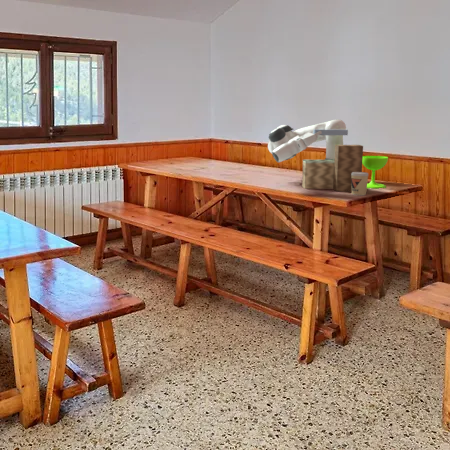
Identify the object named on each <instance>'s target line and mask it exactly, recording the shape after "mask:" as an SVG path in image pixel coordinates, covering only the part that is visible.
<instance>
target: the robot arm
mask: <svg viewBox="0 0 450 450" xmlns="http://www.w3.org/2000/svg"><path fill="white" fill-rule="evenodd" d="M314 129H322V130H347V124H346V123H345V121H343V120H341V119H332V120H329V121H325V122H320V123H316V124H313V125H309V126H303V127H301V128H298V129H296V130H294V127H293V128H292V127H291V126H290V125H289V124H288V125H287V124H281V125H278V127H276V128H275V129H273V130H272V131H271V132H269V134H268V143H267V149H268V151H269V153H270V154H272V157H273V159H274V161H276V163H281V162H284V161H288V160H290V159H292V158H294V157H296V156H297V154H299V153H300V152H303V151H305V150H306V149H307V147H309V146H310V145H312V144H314V143H317V142H320V141H325V145H326V147H325V148H326V149H325V158H324V159H323V160H335V145H344V135H320V134H322V132H321V131H318V132H317V133H315V134H313V131H314ZM293 130H294V131H293Z"/></svg>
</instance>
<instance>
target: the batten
mask: <svg viewBox="0 0 450 450" xmlns="http://www.w3.org/2000/svg"><path fill="white" fill-rule="evenodd" d="M318 131H321V132H322V134H320V135H343V136H348V135H349V130H348V129H346V130H322V129H314V131H313V134H315V133H317V132H318Z"/></svg>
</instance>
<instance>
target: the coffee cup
mask: <svg viewBox="0 0 450 450" xmlns="http://www.w3.org/2000/svg"><path fill="white" fill-rule="evenodd" d="M368 180H369V173H368V172H364V171H362V172H352V174H351V182H352V191H351V195H352V194H353V196H366V195H367V191H368V188H367V183H368V182H369V181H368Z"/></svg>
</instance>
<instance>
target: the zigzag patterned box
mask: <svg viewBox="0 0 450 450" xmlns="http://www.w3.org/2000/svg"><path fill="white" fill-rule="evenodd" d="M334 161H335V160H324V159H302V178H301V179H302V180H301V181H302V182H301V187H302V188H303V189H304V190H305V189H306V190H308V189H313V190H315V189H316V190H319V189H321V190H324V189H325V190H331V189H332V190H334V189H333V183H334Z"/></svg>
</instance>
